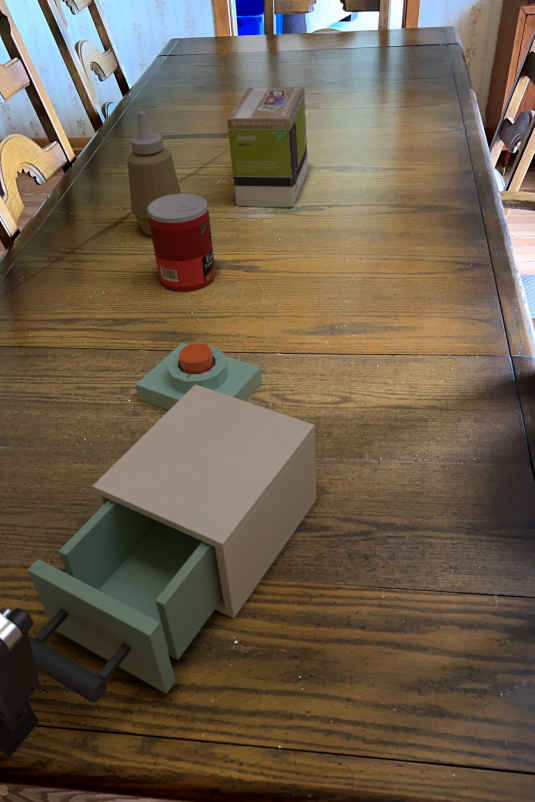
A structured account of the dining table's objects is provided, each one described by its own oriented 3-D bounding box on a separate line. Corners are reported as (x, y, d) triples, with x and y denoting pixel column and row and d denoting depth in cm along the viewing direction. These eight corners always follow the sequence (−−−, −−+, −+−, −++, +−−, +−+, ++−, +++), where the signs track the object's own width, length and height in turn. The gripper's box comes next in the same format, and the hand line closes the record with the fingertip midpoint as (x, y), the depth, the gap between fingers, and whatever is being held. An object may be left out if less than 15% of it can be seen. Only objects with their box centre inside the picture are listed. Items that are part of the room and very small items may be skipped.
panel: (138, 399, 81) (132, 371, 78) (184, 356, 87) (180, 329, 84) (219, 429, 76) (215, 400, 74) (262, 381, 82) (260, 353, 79)
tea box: (254, 171, 129) (248, 85, 120) (309, 172, 127) (307, 85, 118) (234, 207, 118) (225, 115, 108) (294, 209, 116) (290, 116, 107)
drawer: (129, 747, 50) (106, 691, 45) (12, 674, 55) (-20, 616, 50) (260, 562, 61) (253, 501, 56) (154, 515, 66) (140, 455, 61)
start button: (174, 370, 79) (172, 357, 78) (193, 352, 81) (191, 340, 80) (201, 379, 77) (199, 366, 76) (219, 361, 80) (218, 348, 78)
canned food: (218, 288, 98) (210, 213, 91) (161, 296, 98) (147, 221, 91) (213, 261, 104) (204, 189, 97) (158, 268, 104) (145, 197, 96)
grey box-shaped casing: (234, 619, 58) (222, 544, 52) (114, 560, 64) (91, 485, 57) (316, 500, 68) (315, 424, 62) (206, 457, 73) (195, 383, 67)
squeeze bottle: (164, 244, 109) (144, 125, 98) (125, 233, 113) (101, 117, 101) (196, 223, 114) (181, 107, 103) (157, 213, 118) (139, 100, 106)
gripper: (-290, 495, 33) (-94, 736, 48) (-110, 611, 27) (48, 842, 42) (-147, 401, 38) (-9, 647, 53) (32, 484, 32) (128, 732, 47)
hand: (16, 734), depth 48 cm, fingers closed
